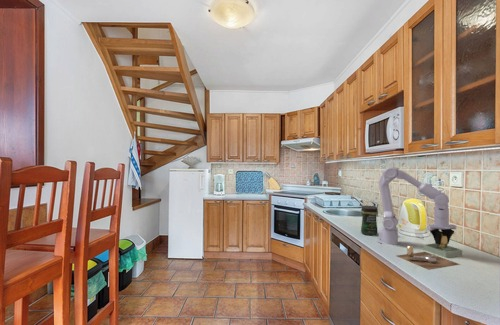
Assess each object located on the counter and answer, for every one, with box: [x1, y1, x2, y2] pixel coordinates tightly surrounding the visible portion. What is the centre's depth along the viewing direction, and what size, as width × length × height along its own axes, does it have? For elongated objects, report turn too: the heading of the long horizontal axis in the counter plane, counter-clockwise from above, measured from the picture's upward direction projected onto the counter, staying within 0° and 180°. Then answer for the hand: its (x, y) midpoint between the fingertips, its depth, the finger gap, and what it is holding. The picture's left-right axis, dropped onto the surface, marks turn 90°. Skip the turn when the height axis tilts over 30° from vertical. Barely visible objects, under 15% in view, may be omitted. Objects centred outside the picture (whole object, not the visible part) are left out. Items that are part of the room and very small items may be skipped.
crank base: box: [396, 251, 461, 271], centre depth 110 cm, size 16×20×1 cm
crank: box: [406, 245, 436, 263], centre depth 109 cm, size 11×4×6 cm, turn 76°
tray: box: [422, 242, 463, 259], centre depth 119 cm, size 11×11×4 cm
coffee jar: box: [360, 205, 379, 236], centre depth 155 cm, size 10×8×19 cm
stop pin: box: [437, 234, 449, 248], centre depth 119 cm, size 4×4×6 cm
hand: (441, 243), depth 119 cm, fingers closed on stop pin, 4 cm apart
